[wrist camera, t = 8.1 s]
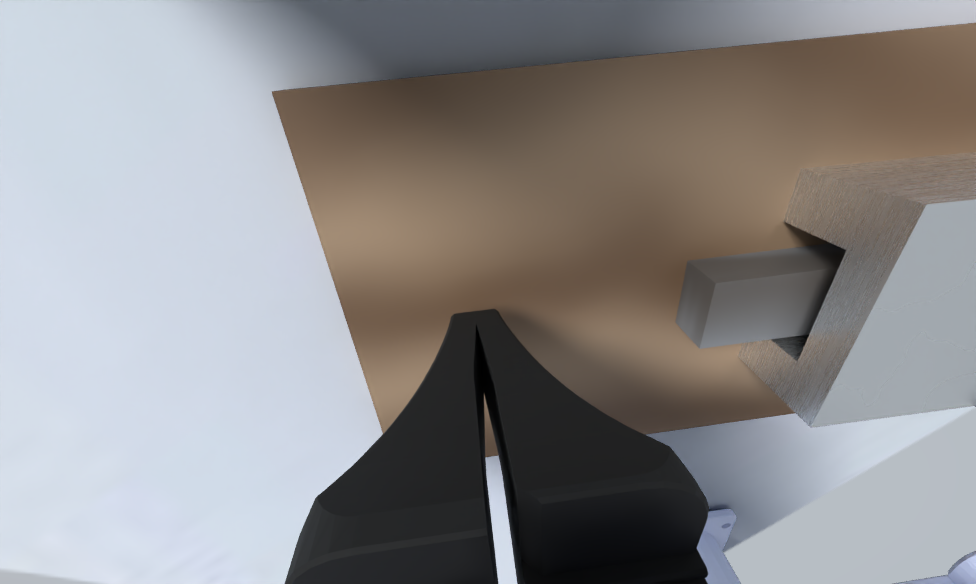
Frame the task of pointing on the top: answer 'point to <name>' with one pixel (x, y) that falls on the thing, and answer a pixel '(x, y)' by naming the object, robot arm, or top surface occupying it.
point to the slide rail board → (612, 207)
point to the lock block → (884, 293)
